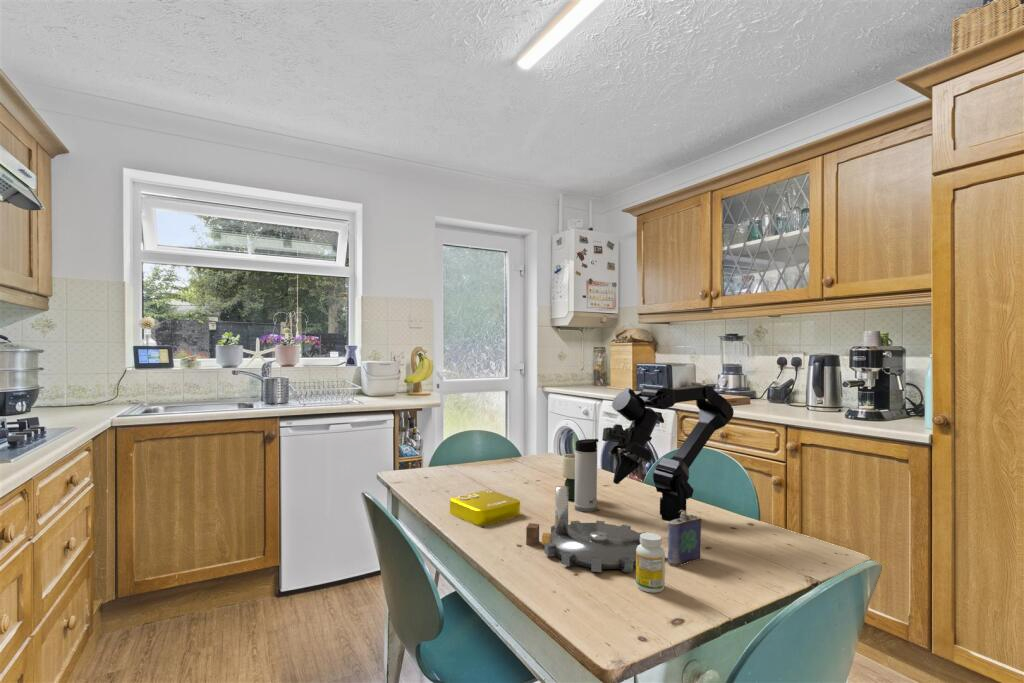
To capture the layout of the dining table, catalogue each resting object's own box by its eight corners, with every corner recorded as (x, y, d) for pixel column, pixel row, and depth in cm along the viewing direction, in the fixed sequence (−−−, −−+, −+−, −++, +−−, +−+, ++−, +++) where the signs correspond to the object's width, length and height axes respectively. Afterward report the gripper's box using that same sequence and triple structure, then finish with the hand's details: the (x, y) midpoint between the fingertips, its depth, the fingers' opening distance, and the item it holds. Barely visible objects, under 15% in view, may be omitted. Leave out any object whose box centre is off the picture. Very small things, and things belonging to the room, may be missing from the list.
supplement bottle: (657, 596, 93) (657, 543, 93) (630, 587, 97) (631, 536, 97) (669, 586, 97) (669, 536, 97) (643, 578, 101) (643, 529, 101)
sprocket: (666, 540, 120) (666, 487, 120) (642, 582, 97) (643, 517, 98) (566, 522, 131) (566, 474, 132) (524, 556, 109) (525, 498, 109)
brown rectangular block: (539, 541, 120) (539, 524, 120) (536, 545, 117) (536, 528, 117) (529, 539, 120) (529, 523, 120) (526, 544, 117) (526, 527, 117)
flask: (674, 567, 106) (674, 515, 106) (663, 562, 108) (664, 512, 109) (703, 559, 111) (704, 509, 111) (692, 554, 113) (693, 506, 113)
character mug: (594, 501, 152) (594, 458, 152) (574, 505, 149) (575, 460, 149) (572, 492, 162) (572, 451, 162) (553, 495, 158) (554, 453, 158)
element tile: (479, 528, 129) (480, 509, 129) (446, 513, 140) (446, 496, 140) (523, 516, 139) (523, 499, 139) (488, 503, 150) (489, 487, 150)
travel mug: (597, 513, 141) (598, 441, 142) (573, 511, 143) (574, 440, 143) (598, 506, 148) (598, 437, 148) (575, 504, 149) (576, 436, 149)
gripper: (604, 417, 142) (579, 467, 138) (624, 410, 124) (596, 467, 120) (639, 437, 142) (615, 488, 138) (664, 432, 124) (637, 490, 120)
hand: (615, 483), depth 129 cm, fingers closed
